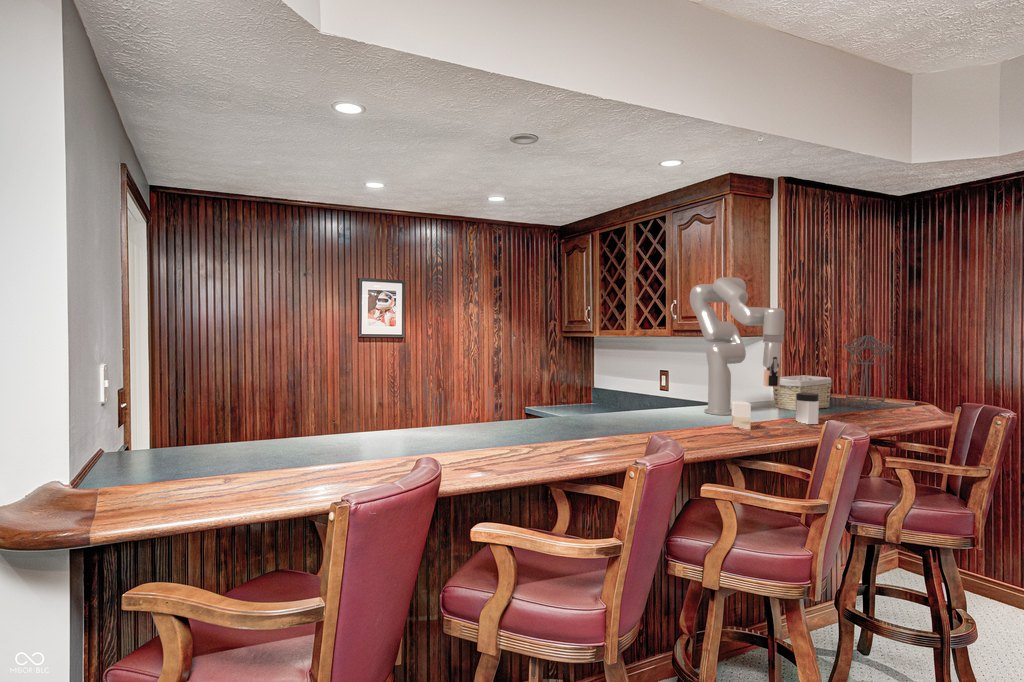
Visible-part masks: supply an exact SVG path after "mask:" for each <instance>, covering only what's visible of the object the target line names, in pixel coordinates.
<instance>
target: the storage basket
mask: <svg viewBox="0 0 1024 682" xmlns="http://www.w3.org/2000/svg"><path fill="white" fill-rule="evenodd" d="M772 389H773V391H772V392H773V393H772V394H773V404H774V407H775V408H777V409H779V408H780V409H785V410H789V411H795V410H796V393H815V394H818V395H819V398H818V401H819V409H826V408H829V407H830V399H831V398H830V397H831V389H832V378H831V377H829V376H828V377H825V376H817V375H805V374H804V375H802V374H801V375H790V376H780V387H772Z"/></svg>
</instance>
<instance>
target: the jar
mask: <svg viewBox="0 0 1024 682" xmlns="http://www.w3.org/2000/svg"><path fill="white" fill-rule="evenodd" d="M818 398H819V395H818V394H815V393H796V411H795V420H796V421H798V422H801V423H806V424H818V425H819V411H820V410H819V409H820V408H819V401H818ZM796 421H795V422H796Z"/></svg>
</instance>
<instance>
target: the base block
mask: <svg viewBox="0 0 1024 682" xmlns="http://www.w3.org/2000/svg"><path fill="white" fill-rule="evenodd" d="M751 423H752V422H751V417H734V416H733V415H731V426H732V425H733V426H734V427H739V428H744V429H750V430H751Z"/></svg>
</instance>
